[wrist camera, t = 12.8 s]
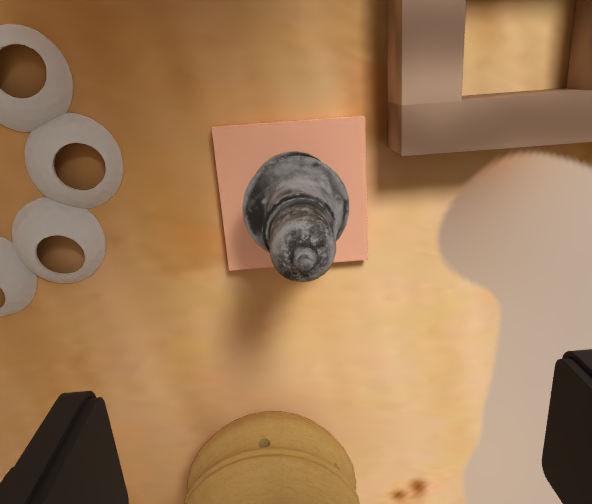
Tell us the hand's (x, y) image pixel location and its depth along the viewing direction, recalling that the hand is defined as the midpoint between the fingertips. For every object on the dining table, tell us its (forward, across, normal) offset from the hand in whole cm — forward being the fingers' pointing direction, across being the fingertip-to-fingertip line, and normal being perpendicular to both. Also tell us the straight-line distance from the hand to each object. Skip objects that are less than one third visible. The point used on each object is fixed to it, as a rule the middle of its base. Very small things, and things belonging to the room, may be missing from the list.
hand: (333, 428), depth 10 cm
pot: (+22, +3, +21) cm, 31 cm away
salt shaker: (+22, 0, 0) cm, 22 cm away
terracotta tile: (+22, 0, +1) cm, 22 cm away
